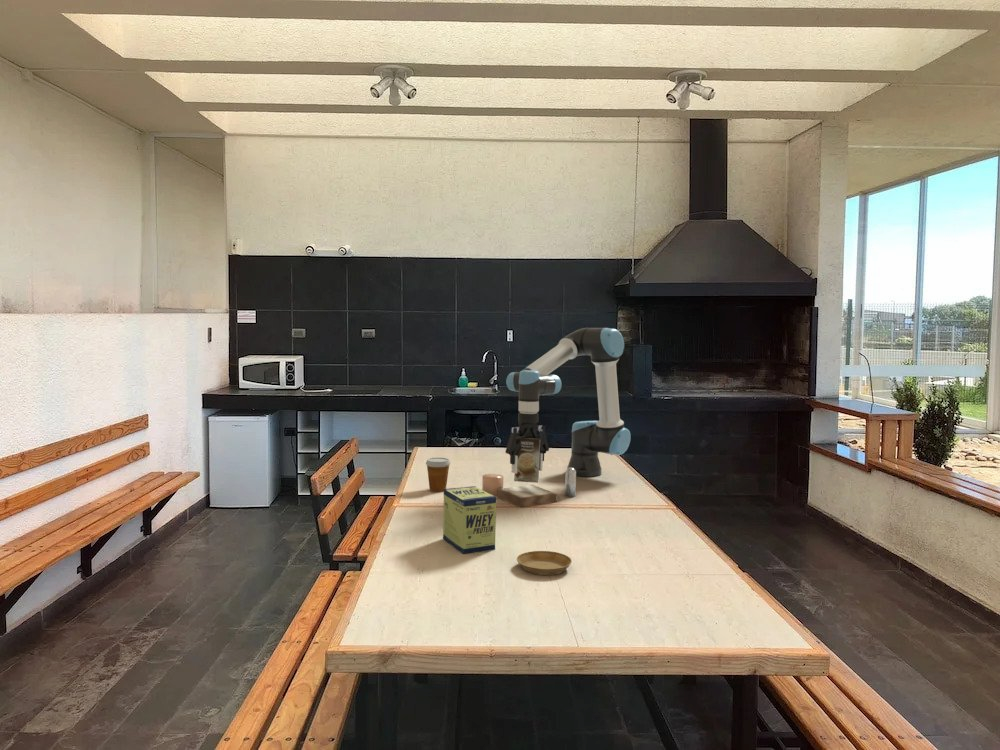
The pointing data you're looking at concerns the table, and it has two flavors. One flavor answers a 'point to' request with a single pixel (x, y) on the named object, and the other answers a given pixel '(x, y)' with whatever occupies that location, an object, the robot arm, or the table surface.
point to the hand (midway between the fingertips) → (527, 471)
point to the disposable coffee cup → (437, 473)
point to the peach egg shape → (492, 483)
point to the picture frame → (526, 495)
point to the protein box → (469, 519)
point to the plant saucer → (544, 562)
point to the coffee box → (528, 460)
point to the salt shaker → (570, 482)
